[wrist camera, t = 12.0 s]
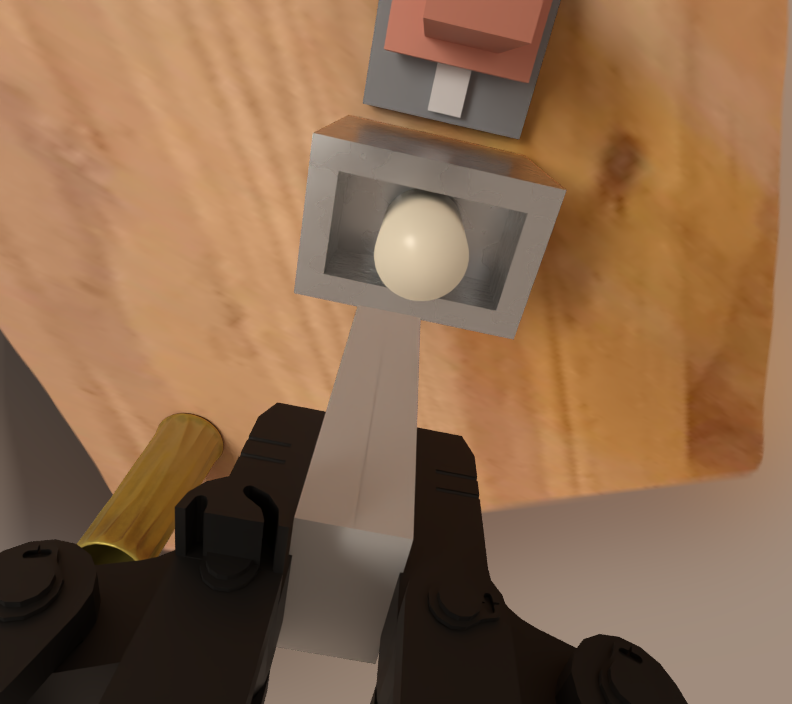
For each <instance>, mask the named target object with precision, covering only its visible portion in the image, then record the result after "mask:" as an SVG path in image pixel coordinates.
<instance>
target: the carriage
mask: <svg viewBox="0 0 792 704" xmlns="http://www.w3.org/2000/svg"><path fill="white" fill-rule="evenodd" d="M552 1H553V0H392V3H391V9H390V15H389V21H388V27H387V33H386V39H385V45H384V49H385V50H387V51H391V52H395V53H399V54H404V55H408V56H412V57H416V58H421V59H425V60H429V61H433V62H438V63H442V64H446V65H450V66H455V67H459V68H463V69H467V70H471V71H476V72H480V73H484V74H488V75H493V76H497V77H501V78H505V79H510V80H514V81H518V82H522V83H529V79H530V76H531V73H532V69H533V66H534V62H535V59H536V55H537V52H538V49H539V45H540V42H541V38H542V35H543V31H544V28H545V25H546V21H547V18H548V14H549V11H550V8H551V4H552Z"/></svg>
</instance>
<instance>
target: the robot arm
mask: <svg viewBox="0 0 792 704" xmlns="http://www.w3.org/2000/svg"><path fill="white" fill-rule="evenodd" d="M419 347H420V317H415V316H410V315H405V314H400V313H395V312H390V311H386V310H381V309H376V308H371V307H366V306H361V305H358V307H357V310H356V313H355V317H354V320H353V323H352V327H351V330H350V333H349V337H348V340H347V343H346V347H345V350H344V353H343V357H342V360H341V363H340V367H339V370H338V373H337V377H336V380H335V383H334V387H333V390H332V393H331V397H330V400H329V403H328V407H327V410H326V412H324V411H319V410H314V409H309V408H304V407H298V406H293V405H288V404H283V403H276V404H275V405H274V406H272V407H271V408H269V409H268V410H267V411H265V412H264V413H263V414H261V415H260V416H259V417H258V419H257V421H256V423H255V425H254V427H253V429H252V431H251V433H250V435H249V439H248V440H247V441H246V443H245V445H244V447H243V449H242V451H241V455H240V457H239V458H238V460H237V462H236V464H235V466H234V468H233V470H232V472H231V474H230V476H228V477H224V478H219V479H215V480H211V481H206V482H205V483H203V484H201V485H199V486H197V487H196V488H194V489H192V490H190V491H188V492H187V493H186V495H185V496H184V497H183V498H182V499H181V500H180V501H179V502H178V504H177V505H176V506H175V550H174V551H172V552H169V553H166V554H164V555H161V556H159V557H154V558H149V559H144V560H138V561H129V562H119V563H110V564H101V565H94V562H93V559H92V556H91V555H90V554H89V553H88V552H86V551H85V550H84V549H82V548H81V547H80V546H78V545H77V544H74V543H69V542H65V541H60V540H44V541H33V542H28V543H25V544H22V545H19V546H16V547H13V548H11V549H7V550H5V551H2V552H1V553H0V704H264V701H265V697H266V693H267V689H268V681H269V674H270V668H271V664H272V660H273V657H274V653H275V649H276V647H279V648H285V649H291V650H297V651H303V652H308V653H315V654H320V655H327V656H333V657H338V658H344V659H349V660H356V661H361V662H367V663H373V664H375V663H376V660H377V657H378V654H379V661H378V673H377V684H376V687H375V690H374V694H373V697H372V700H371V703H370V704H688V703H687V702H686V700H685V698H684V697H683V695H682V693H681V692H680V690H679V688H678V687H677V685H676V684H675V682H674V681H673V680H672V679H671V677H670V676H669V675H668V673H667V672H666V671H665V670H664V669H663V667H662V666H661V664H660V663H658V662H657V661H656V660H655V659H654V658H653V657H651V656H650V655H649V654H648V653H646V652H645V651H644V650H643V649H642V648H641V647H639V646H637V645H635V644H632V643H631V642H628V641H626V640H624V639H622V638H620V637H616V636H609V635H602V634H598V635H595V636H592V637H589V638H586V639H583V641H582V642H581V643H580V645H579V646H578V648H575V647H573V646H571V645H569V644H567V643H565V642H563V641H561V640H559V639H557V638H555V637H553V636H551V635H549V634H547V633H545V632H543V631H541V630H539V629H537V628H535V627H534V626H532V625H530V624H529V623H527V622H525V621H524V620H522V619H521V618H520V617H518V616H517V615H516V614H515V613H514V612H513V611H512V610H511V609H509V608H508V607H507V605H506V604H505V602H504V599H503V596H502V594H501V593H500V592H499V590H498V589H497V588H496V586H495V585H494V584H493V582H492V581H491V578H490V575H489V571H488V566H487V556H486V548H485V540H484V531H483V523H482V514H481V506H480V499H479V489H478V481H476V480H477V472H476V464H475V456H474V454H473V453H472V451H471V450H470V448H469V447H468V445H467V443H466V442H465V440H464V439H463V437H462V436H459V435H453V434H448V433H443V432H438V431H433V430H427V429H422V428H417V409H418V378H419Z"/></svg>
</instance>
